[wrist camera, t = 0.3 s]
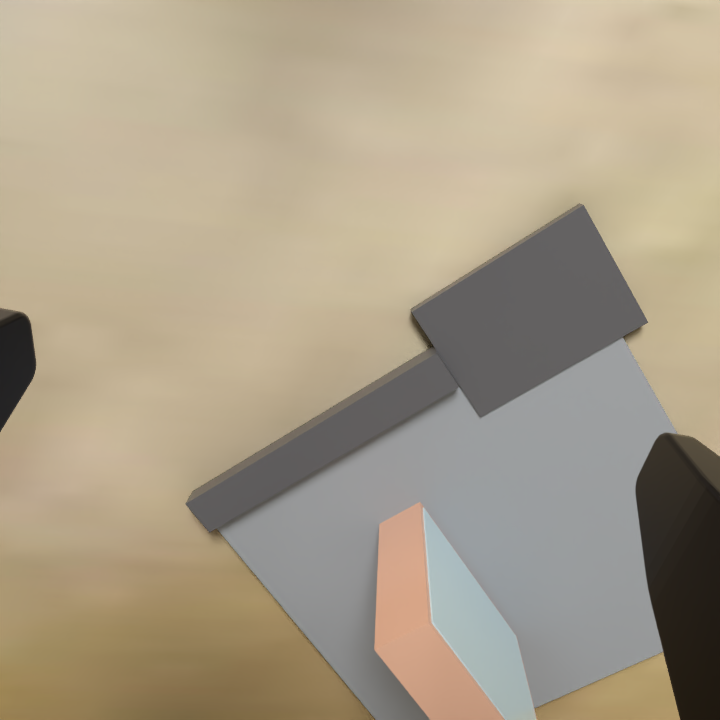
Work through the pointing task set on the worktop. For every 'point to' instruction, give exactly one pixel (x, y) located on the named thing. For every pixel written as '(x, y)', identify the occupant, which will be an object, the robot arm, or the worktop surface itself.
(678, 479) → the robot arm
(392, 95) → the worktop surface
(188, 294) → the worktop surface
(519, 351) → the turner
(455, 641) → the tile
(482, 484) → the mat
